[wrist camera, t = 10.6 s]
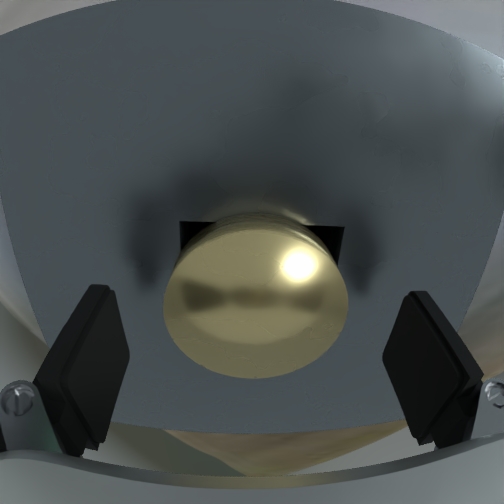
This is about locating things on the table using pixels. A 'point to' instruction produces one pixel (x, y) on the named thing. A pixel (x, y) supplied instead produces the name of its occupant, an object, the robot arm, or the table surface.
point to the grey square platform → (249, 180)
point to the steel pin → (255, 297)
